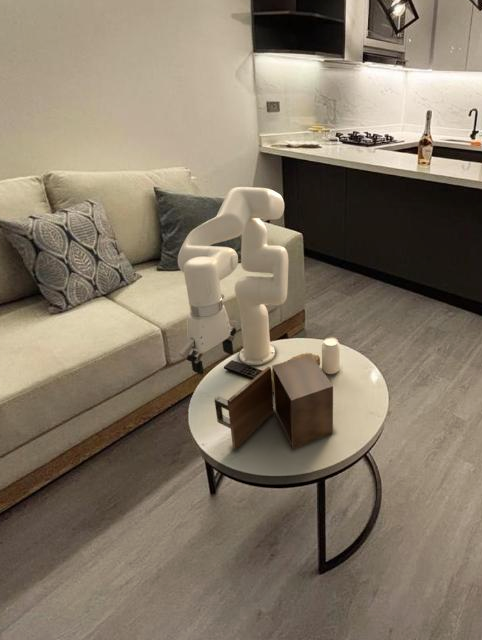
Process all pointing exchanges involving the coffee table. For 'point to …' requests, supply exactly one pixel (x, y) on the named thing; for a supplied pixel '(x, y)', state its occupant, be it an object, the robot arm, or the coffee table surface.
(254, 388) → the door
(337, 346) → the beverage can
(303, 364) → the cupboard
